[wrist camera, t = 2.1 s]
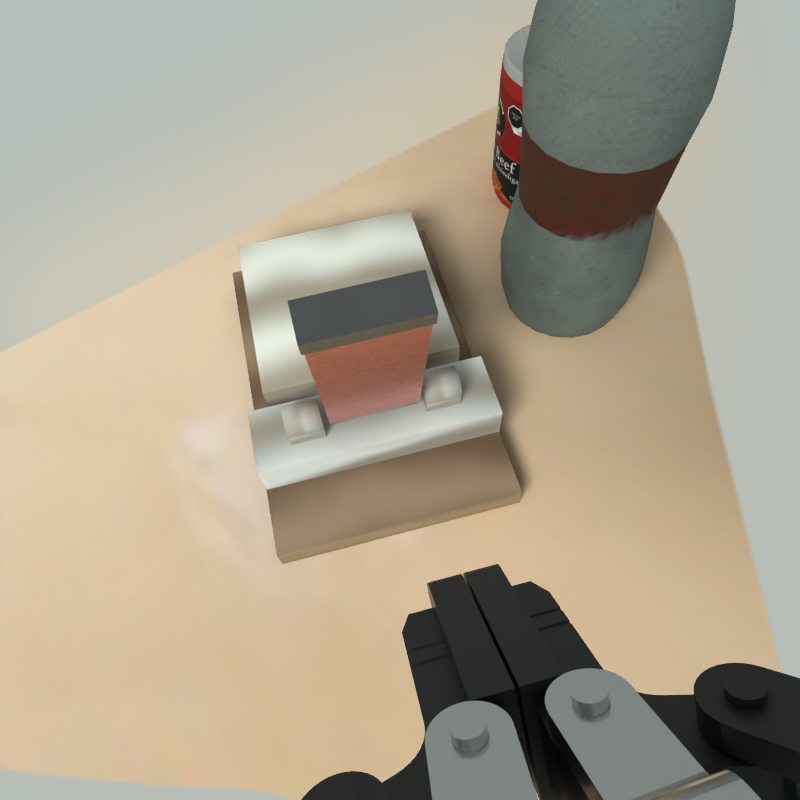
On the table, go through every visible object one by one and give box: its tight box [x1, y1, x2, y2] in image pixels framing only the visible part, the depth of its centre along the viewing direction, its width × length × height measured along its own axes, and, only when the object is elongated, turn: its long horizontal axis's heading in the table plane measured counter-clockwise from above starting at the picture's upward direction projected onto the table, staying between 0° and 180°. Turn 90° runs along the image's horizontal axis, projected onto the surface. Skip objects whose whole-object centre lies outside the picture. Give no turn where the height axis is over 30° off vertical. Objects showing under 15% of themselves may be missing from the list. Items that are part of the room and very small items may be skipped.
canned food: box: [492, 25, 531, 209], centre depth 46 cm, size 8×8×11 cm
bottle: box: [501, 0, 736, 337], centre depth 32 cm, size 9×9×30 cm
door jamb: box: [233, 210, 522, 564], centre depth 40 cm, size 21×14×6 cm, turn 14°
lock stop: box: [287, 269, 439, 424], centre depth 30 cm, size 2×5×14 cm, turn 104°
